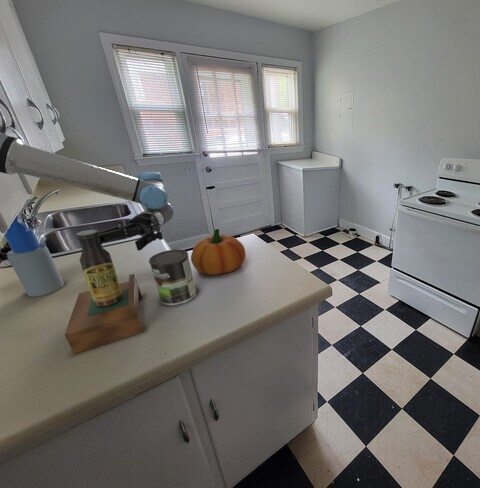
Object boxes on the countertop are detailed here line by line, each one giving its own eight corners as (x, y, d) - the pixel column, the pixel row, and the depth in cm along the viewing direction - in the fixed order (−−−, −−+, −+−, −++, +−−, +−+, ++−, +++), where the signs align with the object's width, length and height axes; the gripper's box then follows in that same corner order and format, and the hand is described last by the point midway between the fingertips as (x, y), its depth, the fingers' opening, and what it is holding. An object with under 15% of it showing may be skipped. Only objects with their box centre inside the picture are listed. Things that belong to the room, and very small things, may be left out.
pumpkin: (182, 274, 98) (172, 236, 92) (216, 253, 115) (210, 219, 109) (226, 283, 93) (219, 243, 87) (256, 259, 109) (252, 224, 103)
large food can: (177, 309, 80) (166, 267, 74) (153, 301, 83) (140, 261, 78) (204, 290, 89) (195, 252, 83) (180, 284, 92) (170, 247, 86)
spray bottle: (70, 280, 95) (39, 212, 85) (51, 295, 87) (15, 221, 77) (41, 282, 93) (6, 213, 83) (19, 297, 85) (-22, 223, 75)
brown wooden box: (74, 354, 64) (60, 327, 61) (86, 310, 79) (76, 287, 76) (143, 331, 71) (134, 307, 68) (142, 295, 86) (135, 273, 83)
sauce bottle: (98, 311, 69) (68, 239, 61) (93, 301, 73) (64, 233, 65) (127, 300, 73) (103, 232, 66) (121, 291, 77) (98, 226, 69)
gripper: (187, 230, 97) (162, 256, 78) (112, 234, 94) (67, 262, 75) (182, 210, 94) (155, 232, 75) (105, 213, 91) (56, 237, 72)
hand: (111, 247), depth 75 cm, fingers open, 13 cm apart
